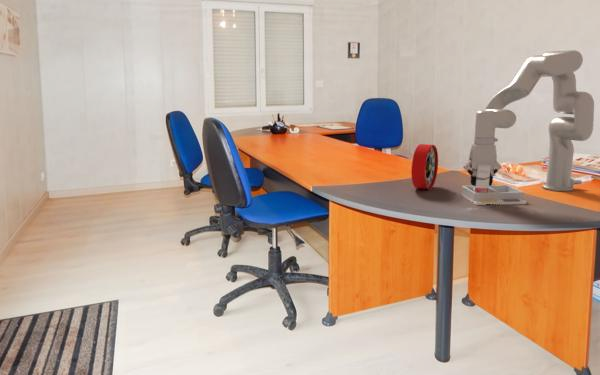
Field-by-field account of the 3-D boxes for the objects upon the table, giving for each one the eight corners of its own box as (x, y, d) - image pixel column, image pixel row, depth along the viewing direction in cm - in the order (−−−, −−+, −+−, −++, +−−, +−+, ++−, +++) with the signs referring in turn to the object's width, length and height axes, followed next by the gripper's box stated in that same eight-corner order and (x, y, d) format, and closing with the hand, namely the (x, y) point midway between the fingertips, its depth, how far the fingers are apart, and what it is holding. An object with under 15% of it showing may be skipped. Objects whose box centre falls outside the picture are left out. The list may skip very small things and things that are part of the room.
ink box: (489, 194, 199) (491, 165, 197) (475, 194, 200) (477, 165, 198) (485, 189, 208) (487, 161, 205) (473, 189, 209) (474, 161, 206)
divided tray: (507, 193, 212) (508, 184, 211) (526, 203, 195) (527, 194, 194) (461, 194, 211) (461, 185, 210) (476, 205, 195) (476, 195, 194)
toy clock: (423, 193, 215) (425, 147, 210) (410, 192, 218) (412, 147, 213) (437, 184, 231) (439, 142, 227) (424, 183, 234) (426, 141, 230)
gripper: (501, 139, 203) (498, 182, 207) (459, 140, 203) (457, 183, 207) (509, 142, 196) (506, 186, 200) (466, 143, 196) (463, 187, 199)
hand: (481, 184), depth 203 cm, fingers closed on ink box, 5 cm apart
